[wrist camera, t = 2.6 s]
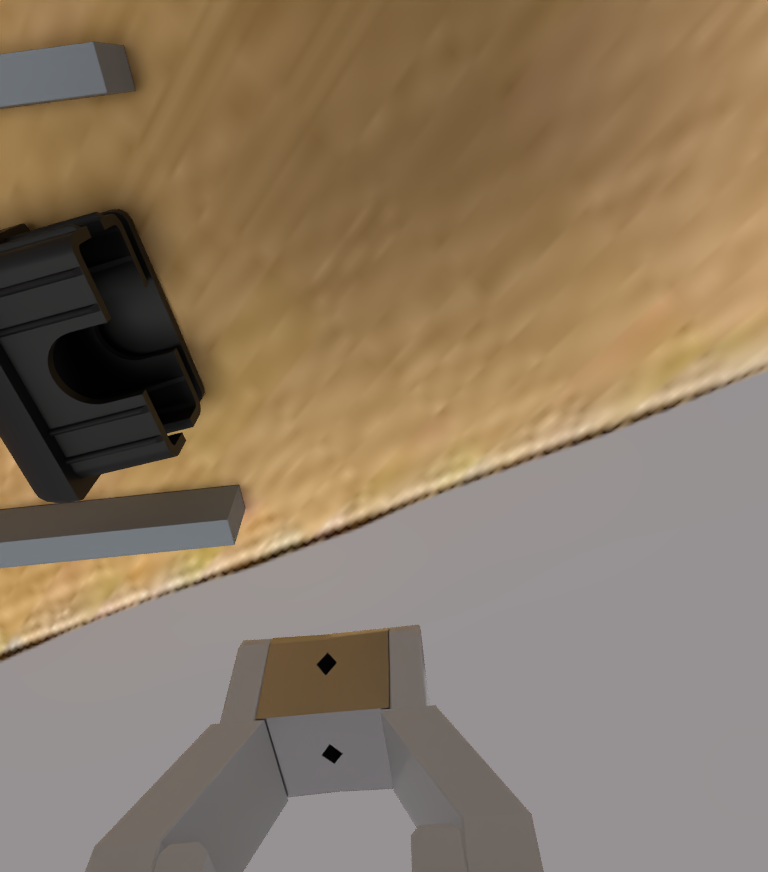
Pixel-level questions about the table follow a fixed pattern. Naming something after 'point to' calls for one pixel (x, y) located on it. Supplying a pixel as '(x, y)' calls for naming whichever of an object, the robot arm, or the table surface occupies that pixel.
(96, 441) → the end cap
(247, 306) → the table surface
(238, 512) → the u-shaped frame
